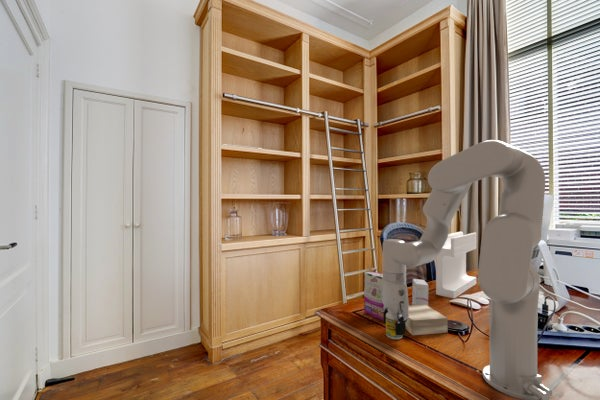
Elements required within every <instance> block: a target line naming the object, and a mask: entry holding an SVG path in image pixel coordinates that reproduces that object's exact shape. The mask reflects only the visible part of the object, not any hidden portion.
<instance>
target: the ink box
mask: <svg viewBox="0 0 600 400" xmlns="http://www.w3.org/2000/svg"><path fill="white" fill-rule="evenodd" d="M429 287H430V286H429V284H428V283H427V281H425V280H424V279H417V278H412V292H411V293H412V296H411V298H412V299H411V301H412V302H411V305H427V306H429Z"/></svg>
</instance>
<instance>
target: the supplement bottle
mask: <svg viewBox="0 0 600 400" xmlns="http://www.w3.org/2000/svg"><path fill="white" fill-rule="evenodd" d="M398 312H400V311H397V313H398ZM398 316H399V318H400V317H402V315H398ZM395 322H397V321H396V316H395V314H394V313H393V312H391V311H390V310H389V309H388V312H387V313H386V324H385V336H387V338H388V339H391V340H401V339H402V338H403V336H404V335H396V334H395Z"/></svg>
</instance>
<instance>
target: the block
mask: <svg viewBox="0 0 600 400" xmlns="http://www.w3.org/2000/svg"><path fill="white" fill-rule="evenodd" d="M477 237H478V236H477V232H471V233H467V234H464V232H463V231H457V232H452V233H449V234H448V238H447V240H446V242H445V244H444V246H443V248H442V249H441V251H440V253H439V254H438V256H437V257H436V258H435V294H436V295H438V296H441V297H445V298H451V299H455V298H457V297H459V296H460V295H462V294H463V293H464V292H467V290H468V291H469V289H471V288H472V287H474V286H475V285H476V284H477V277H476V276H471V275H468V274H467V253H469V252H471V251H475V250H477V249H478V248H477V246H478V245H477V241H478V239H477Z"/></svg>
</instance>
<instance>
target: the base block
mask: <svg viewBox="0 0 600 400" xmlns="http://www.w3.org/2000/svg"><path fill="white" fill-rule="evenodd" d="M400 312H401V311H400ZM408 313H409V317H408V318H407V321H406V329H405V331H407V332H408V333H410V334H411V335H412V336H420V335H421V336H423V335H433V334H446V333H448V331H449V330H448V327H449V326H448V324H449V323H448V322H449V320H448V317H446V315H444V314H442V313H440V312H439V311H437V310H435V309H433V308H432V307H431V306H429V305H428V306H427V305H412V304H411V305H409V312H408Z"/></svg>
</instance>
